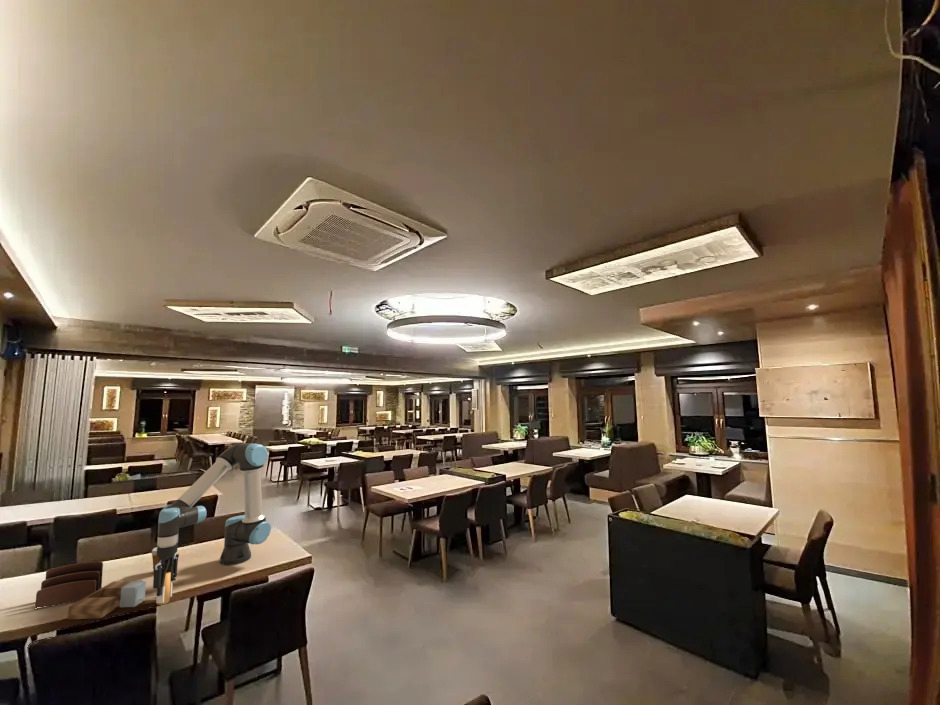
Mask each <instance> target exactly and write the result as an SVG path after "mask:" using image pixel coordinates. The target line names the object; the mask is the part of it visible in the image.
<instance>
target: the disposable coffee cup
mask: <svg viewBox="0 0 940 705" xmlns="http://www.w3.org/2000/svg"><path fill="white" fill-rule="evenodd" d="M157 547H158V546H157ZM157 547H154V548H153V549H152V550H151V553H150V554H151V558H152V567H153V566H154V565H157V564H158V560H159V557H158V556H157V555H156V554H157Z"/></svg>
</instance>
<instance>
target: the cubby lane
mask: <svg viewBox="0 0 940 705" xmlns="http://www.w3.org/2000/svg"><path fill="white" fill-rule="evenodd" d="M136 581H137V580H120V581H118V580H117V581H111V582H110V583H108V584H106V585H105V586H103V587H102V588H101V589H99V590H97V591H95V592H94V593H92V594H90V595H88V596H87V597H85V598H83V599H81V600H79V601H76V602H73V603H72V604H70V605H69V606H68V611H67V620H83V619H102V618H103V617H105V616H107V615H108V614H109V613H111V612H113V611H114V610H115V609H116V601H117V600H118V601H119V600H121V588H122V587H124V586H126V585H127V584H129V583H131V582H136ZM140 581H144V580H140Z"/></svg>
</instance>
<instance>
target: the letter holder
mask: <svg viewBox="0 0 940 705" xmlns="http://www.w3.org/2000/svg"><path fill="white" fill-rule="evenodd" d="M103 569H104V563H103V561H99V560H98V561H84V562H79V563H78V562H77V563H72V564H67V565H62V566H57V567H54V568H51V569H48V570H46V572H45V579H44V580H42V581H41V585H40V589H39V590H37V591H36V595H35V604H34V609H35V608H37V607H44V606H50V607H53V606H52V605H56V606H59V605H58V604H61V605H64V604H63V603H66V604H69V602H71V603H76V602H78V601H79V600H81V599H83V598H85V597H87V596H88V595H90V594H92V593H94V592H95V591H97V590H99V589H101V588H103V587H102V584H103V571H104V570H103ZM75 601H76V602H75Z"/></svg>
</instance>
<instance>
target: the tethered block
mask: <svg viewBox="0 0 940 705" xmlns="http://www.w3.org/2000/svg"><path fill="white" fill-rule="evenodd" d="M170 578H171V572H166V575H165V581H164V586H163V587H165V592H164V602H163V603H156V605H158V606H162V604H163V605H166V604H168V603H169V602H170V597H169V595H170ZM135 581H136V582H131V583H129V584H127V585H126V586H124V587H122V588H121V600H120V601H119V602H120V604H119V608H135V607H137V606H138V605H139V604H141V603H142V602H144V601H156V600H157V597H152V598H151V597H149V598H146V585H147V581H146V580H143V581H141V580H135Z"/></svg>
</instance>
